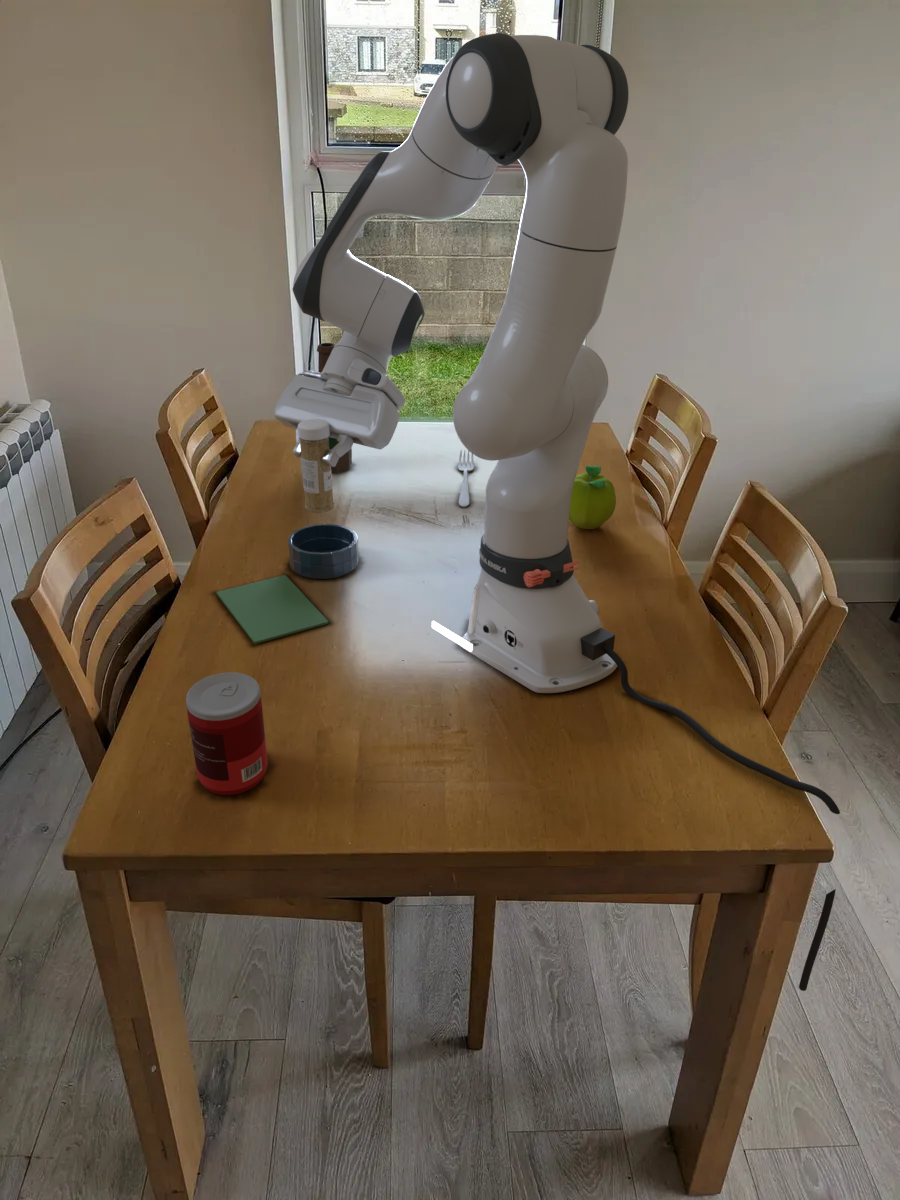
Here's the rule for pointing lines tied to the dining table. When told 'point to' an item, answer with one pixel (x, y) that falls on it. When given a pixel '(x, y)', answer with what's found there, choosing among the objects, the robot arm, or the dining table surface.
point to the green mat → (271, 609)
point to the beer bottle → (344, 460)
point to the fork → (465, 479)
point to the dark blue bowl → (323, 551)
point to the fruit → (591, 499)
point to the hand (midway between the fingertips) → (313, 460)
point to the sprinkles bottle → (315, 465)
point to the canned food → (227, 732)
